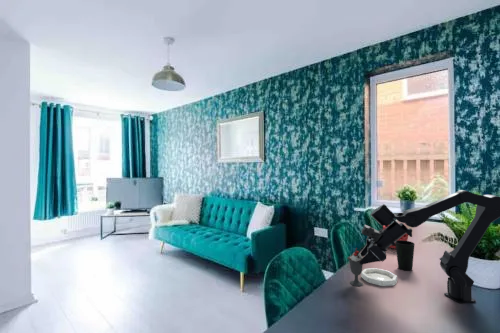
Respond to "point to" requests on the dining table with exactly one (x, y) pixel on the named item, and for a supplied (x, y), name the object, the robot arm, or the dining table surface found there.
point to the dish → (379, 277)
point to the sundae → (355, 267)
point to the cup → (405, 254)
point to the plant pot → (404, 237)
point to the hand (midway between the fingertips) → (360, 259)
